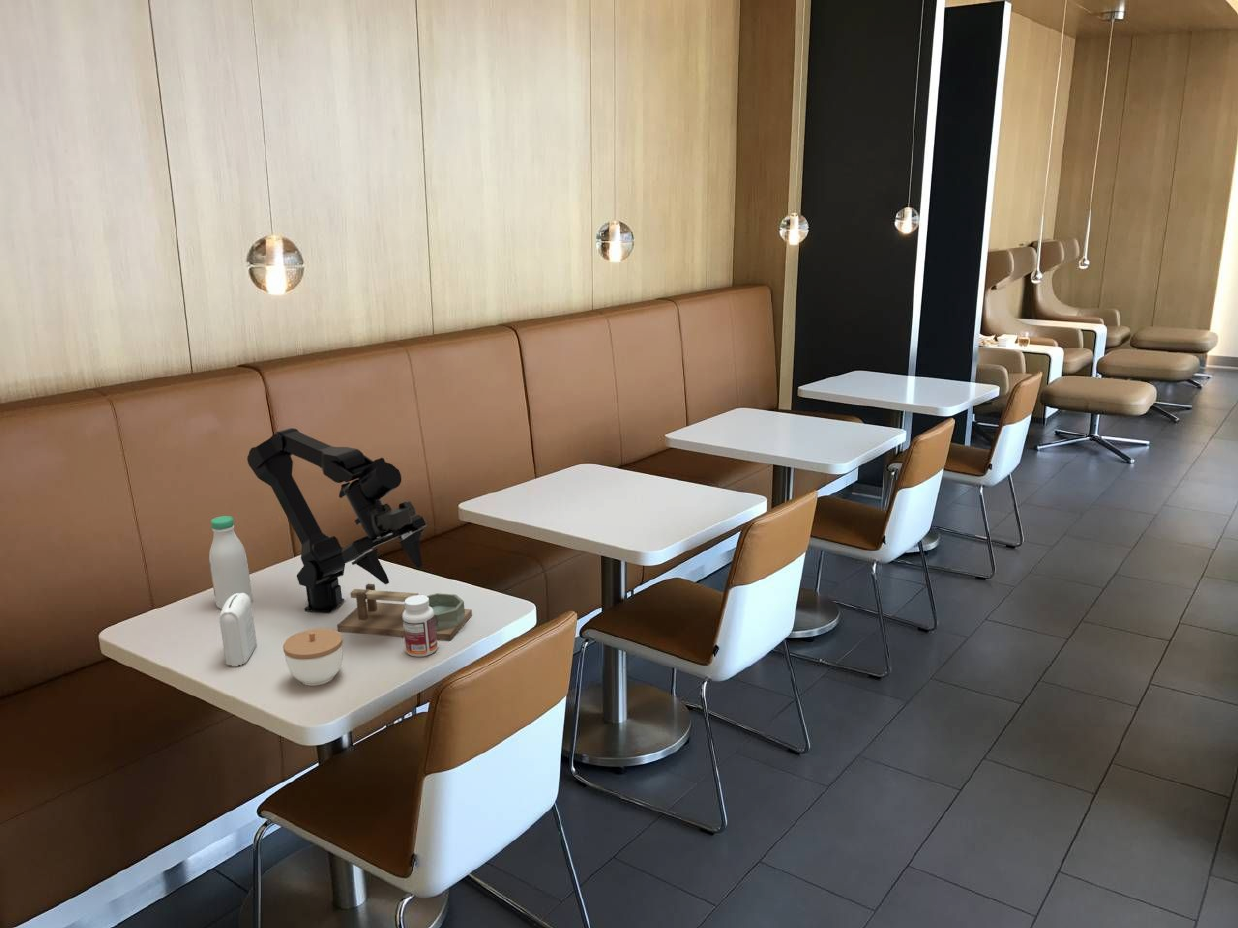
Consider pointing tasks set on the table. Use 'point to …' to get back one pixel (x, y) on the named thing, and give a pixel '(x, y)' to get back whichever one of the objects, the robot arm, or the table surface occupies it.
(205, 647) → the table surface
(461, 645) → the table surface
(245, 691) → the table surface
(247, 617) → the photo printer
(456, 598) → the catapult arm
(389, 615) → the catapult base
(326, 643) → the lidded jar
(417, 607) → the pill bottle
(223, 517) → the milk bottle
